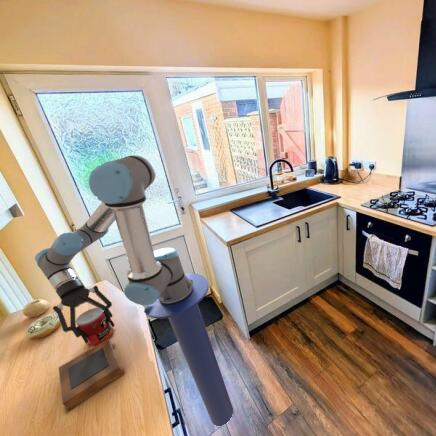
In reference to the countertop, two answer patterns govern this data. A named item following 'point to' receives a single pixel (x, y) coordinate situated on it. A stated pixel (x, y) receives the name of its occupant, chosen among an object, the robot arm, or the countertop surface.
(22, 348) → the countertop surface
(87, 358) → the wooden picture frame
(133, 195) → the robot arm
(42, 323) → the decorated donut
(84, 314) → the canned food
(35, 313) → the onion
